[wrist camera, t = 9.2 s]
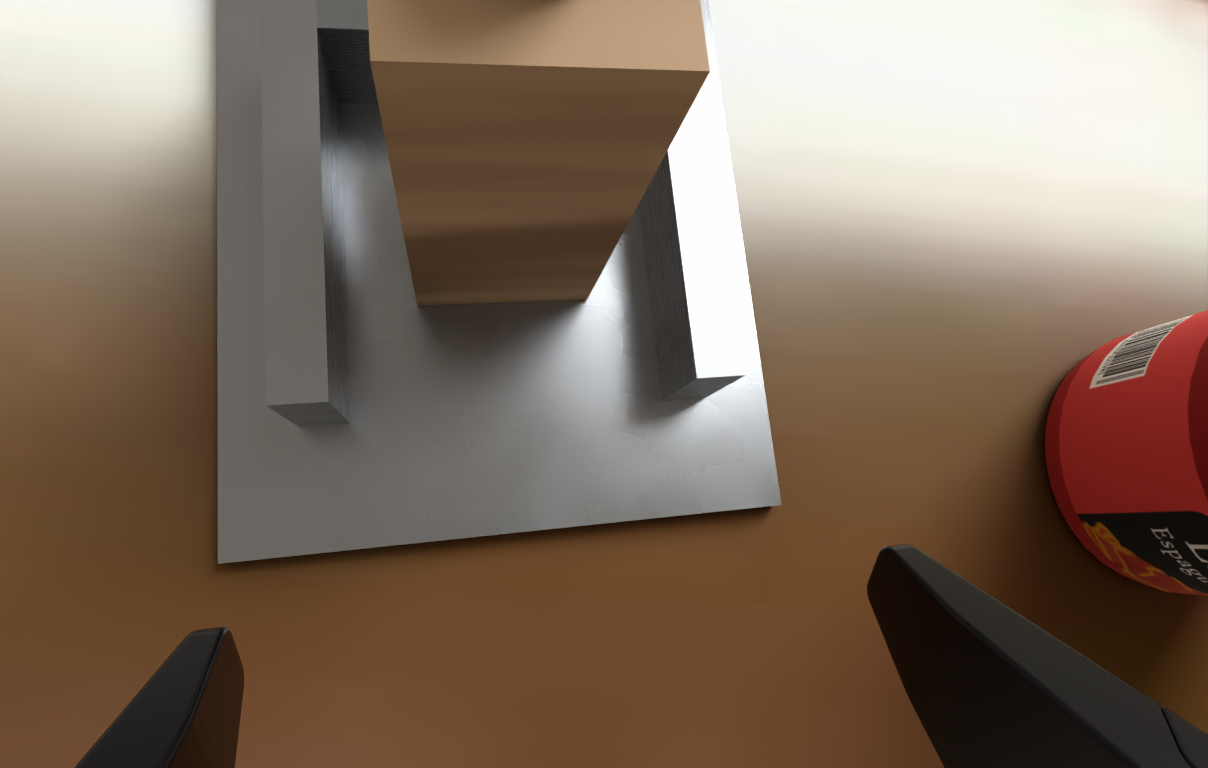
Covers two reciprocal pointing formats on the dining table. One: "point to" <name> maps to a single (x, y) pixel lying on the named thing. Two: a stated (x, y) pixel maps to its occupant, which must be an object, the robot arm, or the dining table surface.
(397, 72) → the knobbed wooden block
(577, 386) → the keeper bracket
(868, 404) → the dining table surface
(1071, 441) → the canned food
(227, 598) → the dining table surface
